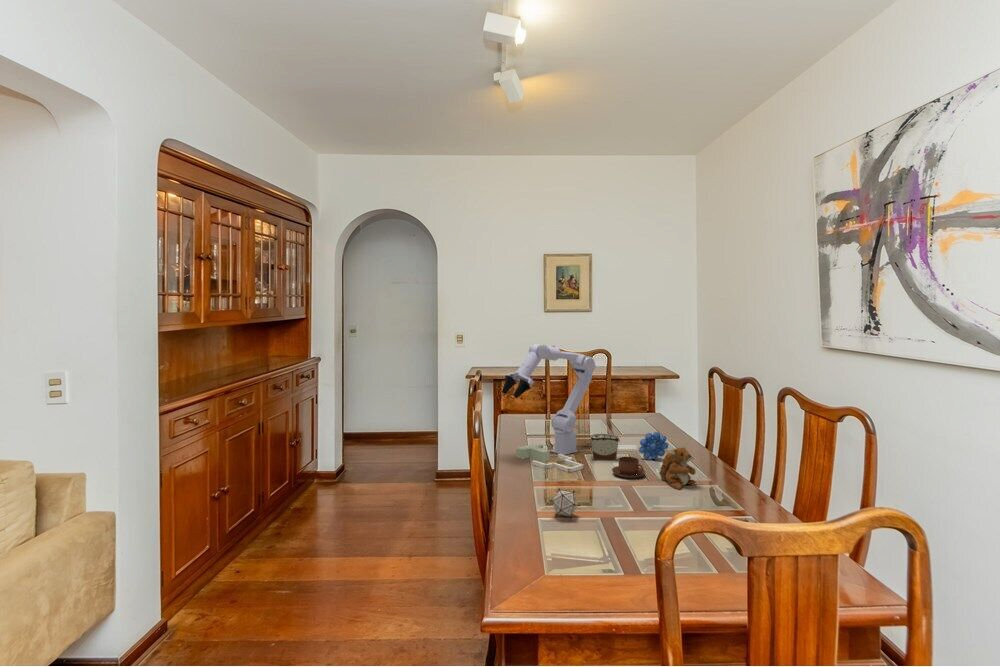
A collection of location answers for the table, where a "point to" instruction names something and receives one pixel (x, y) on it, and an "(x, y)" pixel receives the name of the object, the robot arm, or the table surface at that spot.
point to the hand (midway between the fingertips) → (509, 394)
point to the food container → (604, 447)
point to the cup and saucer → (628, 468)
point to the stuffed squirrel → (677, 468)
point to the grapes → (653, 445)
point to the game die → (565, 503)
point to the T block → (533, 452)
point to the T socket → (566, 461)
